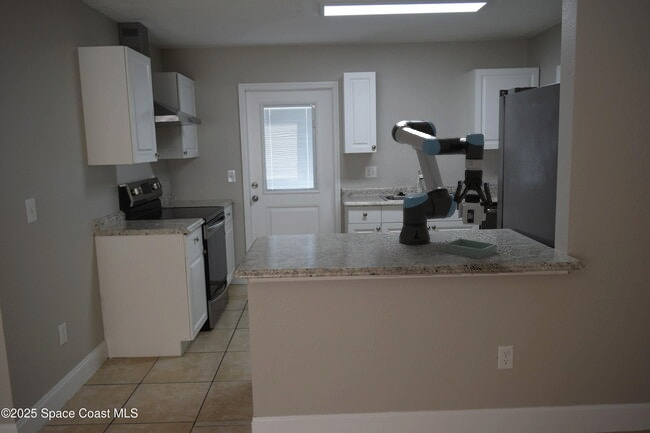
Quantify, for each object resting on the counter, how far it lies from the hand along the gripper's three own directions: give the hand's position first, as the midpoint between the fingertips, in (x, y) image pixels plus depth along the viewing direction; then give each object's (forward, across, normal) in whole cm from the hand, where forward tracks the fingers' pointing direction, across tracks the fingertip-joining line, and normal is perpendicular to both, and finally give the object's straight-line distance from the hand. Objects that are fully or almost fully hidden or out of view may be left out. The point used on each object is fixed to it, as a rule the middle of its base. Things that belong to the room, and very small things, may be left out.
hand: (471, 219), depth 222 cm
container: (+2, 0, 0) cm, 2 cm away
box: (+15, 0, 0) cm, 15 cm away
